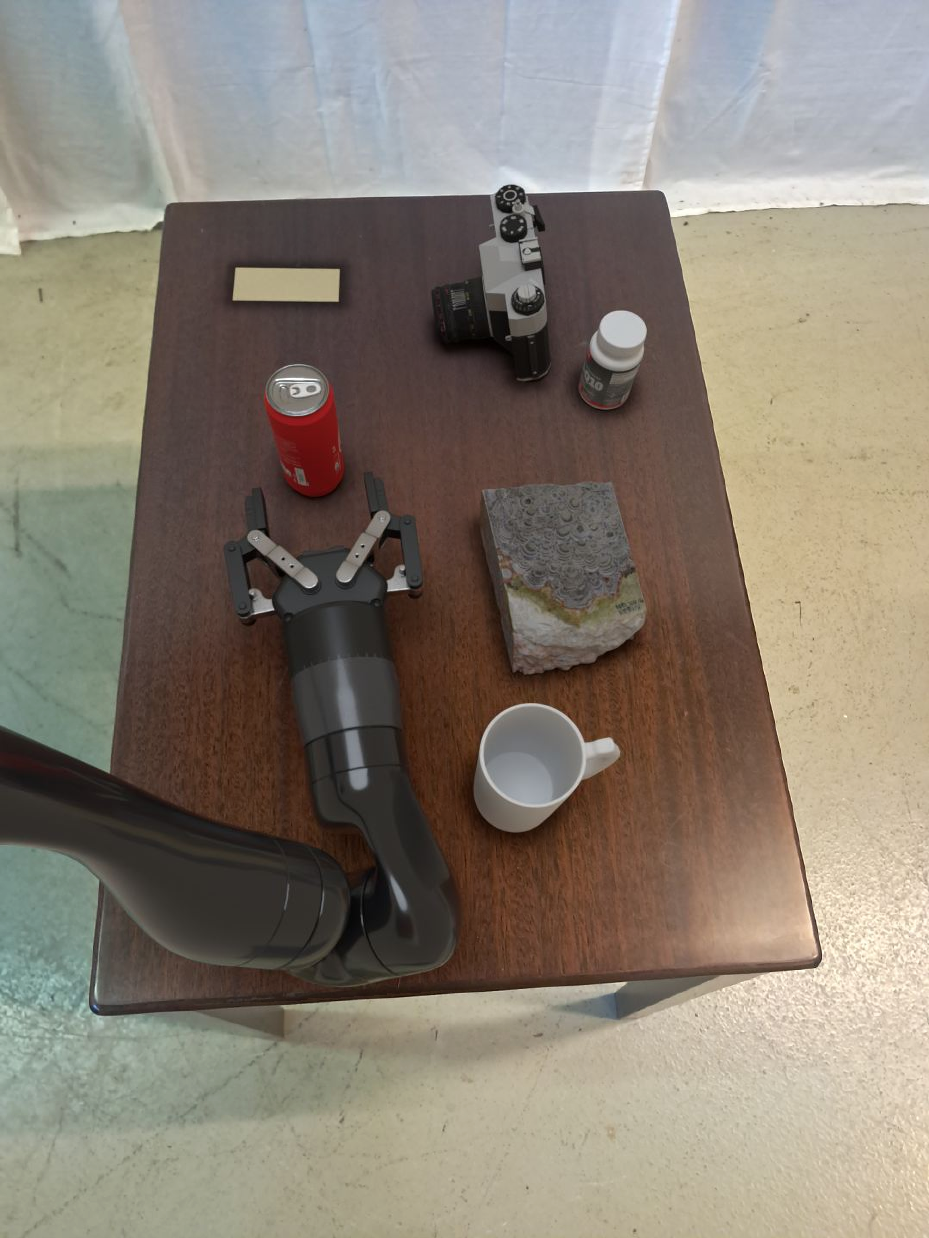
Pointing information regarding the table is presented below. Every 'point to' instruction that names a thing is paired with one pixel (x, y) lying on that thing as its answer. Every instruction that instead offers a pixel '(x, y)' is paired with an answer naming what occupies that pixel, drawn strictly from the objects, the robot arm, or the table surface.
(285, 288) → the strip
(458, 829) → the table surface
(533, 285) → the camera
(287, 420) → the beverage can
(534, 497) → the geological specimen
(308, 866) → the robot arm
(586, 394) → the pill bottle
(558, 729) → the mug
